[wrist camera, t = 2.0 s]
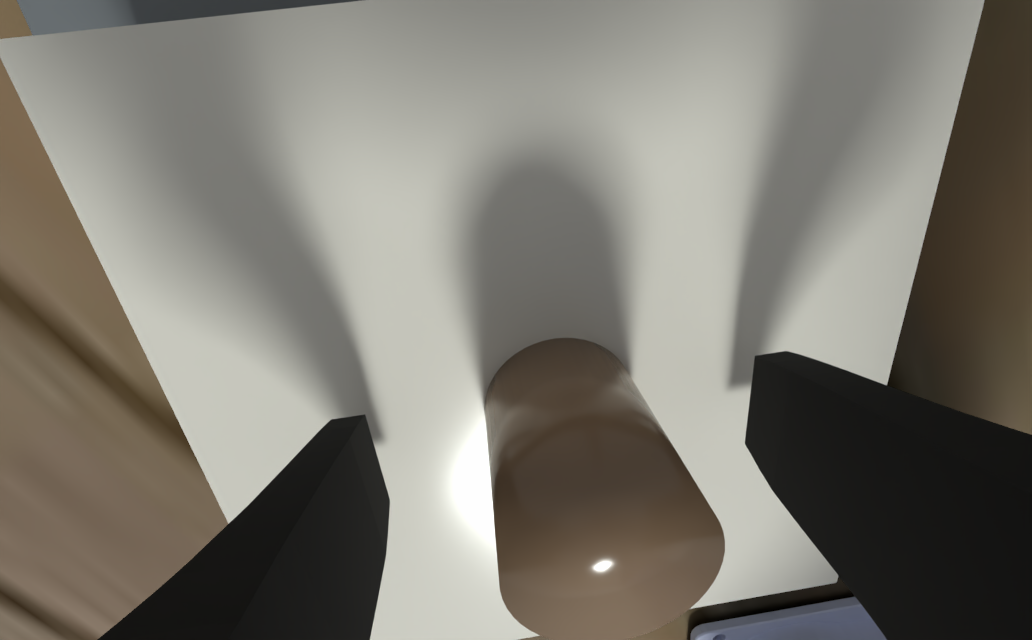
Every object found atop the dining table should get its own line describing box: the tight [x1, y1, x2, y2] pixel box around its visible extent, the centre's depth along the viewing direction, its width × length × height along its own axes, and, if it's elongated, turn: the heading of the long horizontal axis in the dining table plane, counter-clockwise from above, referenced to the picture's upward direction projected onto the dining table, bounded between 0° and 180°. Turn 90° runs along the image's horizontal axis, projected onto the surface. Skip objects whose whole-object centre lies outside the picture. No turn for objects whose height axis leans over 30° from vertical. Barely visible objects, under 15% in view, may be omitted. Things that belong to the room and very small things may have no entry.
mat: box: [17, 0, 363, 36], centre depth 13 cm, size 18×17×1 cm
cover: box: [0, 0, 985, 640], centre depth 10 cm, size 14×14×7 cm
